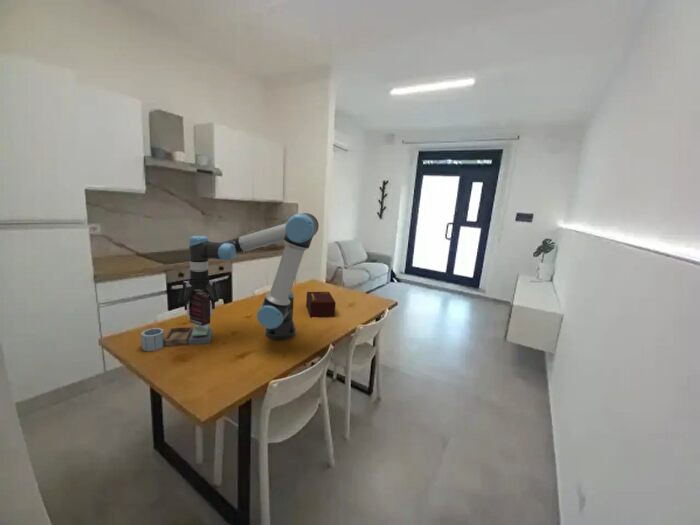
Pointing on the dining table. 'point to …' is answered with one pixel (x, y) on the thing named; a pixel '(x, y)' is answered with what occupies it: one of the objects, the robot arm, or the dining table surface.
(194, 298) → the supplement box
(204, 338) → the blue-grey rectangular tray
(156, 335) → the cup
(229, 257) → the robot arm
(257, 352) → the dining table surface
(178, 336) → the brown wooden tray
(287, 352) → the dining table surface
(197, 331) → the mint green block
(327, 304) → the box
